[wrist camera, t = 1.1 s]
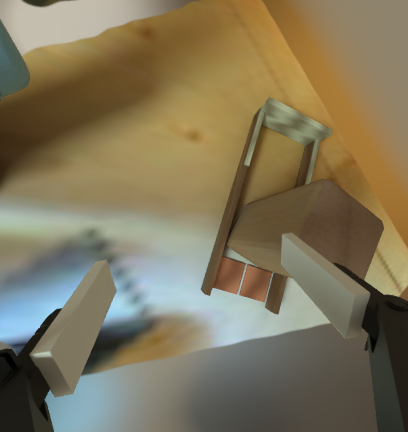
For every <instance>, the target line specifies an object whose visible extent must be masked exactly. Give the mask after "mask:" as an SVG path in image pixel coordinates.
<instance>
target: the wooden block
mask: <svg viewBox="0 0 408 432" xmlns="http://www.w3.org/2000/svg"><path fill="white" fill-rule="evenodd" d="M383 230H384V226H383V223H382V221H381V220H380V219H379V218H378V217H376V216H375V215H374V214H373V213H371V212H370V211H369V210H368V209H366V208H365V207H364V206H363V205H361V204H360V203H359V202H358V201H356V200H355V199H354V198H353V197H351V196H350V195H349V194H348V193H346V192H345V191H344V190H343V189H341V188H340V187H339V186H338V185H336V184H335V183H334V182H333V181H330V180H327V179H321V180H318V181H315V182H312V183H309V184H306V185H303V186H300V187H297V188H294V189H291V190H288V191H285V192H282V193H279V194H276V195H273V196H270V197H267V198H264V199H261V200H258V201H255V202H252V203H249V204H247V205H246V206H245V208H244V210H243V212H242V213H241V215H240V217H239V218H238V220H237V222H236V224H235V225H234V227H233V229H232V231H231V232H230V234H229V236H228V238H227V240H226V245H227V246H228V247H229V248H231V249H232V250H234V251H235V252H237V253H238V254H240V255H241V256H243V257H244V258H246V259H247V260H249V261H250V262H252V263H254V264H255V265H257V266H258V267H260V268H262V269H265V270H268V271H272V272H275V273H278V274H281V275H284V276H287V277H290V278H292V277H291V276H290V274H289V273H288V272H287V271H286V270H285V269H284V267H283V266H282V265H281V248H282V234H285V233H293V234H294V235H296V236H297V237H298V238H299V239H301V240H302V241H303V242H305V243H306V244H307V245H309V246H310V247H311V248H312V249H314V250H315V251H316V252H318V253H319V254H320V255H322V256H323V257H324V258H325V259H327V260H328V261H329V262H331V263H338V264H340V265H342V266H345V267H346V268H348V269H349V270H350V271H352V272H353V274H354V273H355V274H356V275H357V276H359V278H361V279H363V280H364V279H365V276H366V274H367V271H368V268H369V266H370V263H371V261H372V258H373V255H374V253H375V250H376V248H377V245H378V242H379V240H380V237H381V235H382V232H383Z"/></svg>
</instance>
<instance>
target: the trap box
mask: <svg viewBox="0 0 408 432" xmlns="http://www.w3.org/2000/svg"><path fill="white" fill-rule="evenodd" d="M261 124H262V125H264V126H266V127H268V128H270V129H272V130H274V131H276V132H278V133H280V134H282V135H284V136H286V137H288V138H290V139H292V140H294V141H296V142H298V143H300V144H302V145H304V146H305V149H304V153H303V157H302V161H301V165H300V169H299V173H298V177H297V181H296V185H295V188H297V187H300V186H303V185H306V184H309V183H311V178H312V174H313V170H314V166H315V161H316V157H317V153H318V149H319V144H320V141H321V140H323V139H325V138H327V137H329V136H330V135H331V133H332V130H331V129H329V128H328V127H326V126H324V125H322V124H320V123H318V122H316V121H314V120H313V119H311V118H309V117H307V116H305V115H303V114H301V113H299V112H297V111H296V110H294V109H292V108H290V107H288V106H286V105H284V104H282V103H281V102H279V101H277V100H275V99H273V98H271V97H269V98H268V99H267V100H266V102H265V103H264V104H263V105H262V106H261V108H260V109H259V110H258V111H257V113H256V114H255V115H254V118H253V121H252V124H251V127H250V131H249V134H248V137H247V140H246V144H245V147H244V150H243V153H242V157H241V160H240V163H239V166H238V170H237V173H236V176H235V179H234V183H233V186H232V189H231V192H230V196H229V199H228V202H227V205H226V209H225V212H224V215H223V218H222V222H221V225H220V228H219V232H218V235H217V238H216V241H215V245H214V248H213V251H212V254H211V258H210V261H209V264H208V267H207V271H206V274H205V277H204V280H203V284H202V287H201V290H202V292H203V293H204V294H206V295H209V296H210V294H211V290H212V287H213V288H216V289H220V290H223V291H227V292H230V293H234V294H237V292H238V288H239V284H240V281H241V277H242V274H243V270H244V266H245V264H244V263H240V262H237V261H234V260H231V259H228V258H225V257H222V253H223V250H224V247H225V243H226V240H227V237H228V233H229V230H230V227H231V223H232V220H233V216H234V213H235V210H236V206H237V203H238V200H239V196H240V193H241V190H242V186H243V183H244V180H245V176H246V173H247V169H248V166H249V165H250V161H251V158H252V154H253V151H254V148H255V144H256V141H257V138H258V134H259V131H260V128H261ZM271 274H272V273H271V272H268V271H265V270H262V269H259V268H256V267H253V266H250V265H247V269H246V272H245V276H244V280H243V283H242V287H241V291H240V294H239V295H241V296H244V297H248V298H251V299H255V300H258V301H262V302H265V298H266V294H267V290H268V286H269V282H270V278H271ZM286 280H287V276H284V275H281V274H278V273H275V272H274V274H273V278H272V282H271V286H270V290H269V294H268V298H267V302H266V306H265V308H266V309H268V310H270V311H271V312H273V313H274V314H279V310H280V305H281V301H282V297H283V293H284V288H285V284H286Z"/></svg>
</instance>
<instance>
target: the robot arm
mask: <svg viewBox="0 0 408 432" xmlns="http://www.w3.org/2000/svg"><path fill="white" fill-rule="evenodd" d="M29 81H30V73H29V70H28V67H27V65H26V63H25V62H24V60H23V58H22V56H21V54H20V53H19V51H18V49H17V47H16V46H15V44H14V42H13V41H12V39H11V37H10V35H9V33H8V32H7V30H6V28H5V27H4V25H3V23H2V21H1V20H0V101H1V98H2V97H4V96H7V95H9V94H12V93H14V92H17V91H19V90H21V89H23V88H25V87H26V86H27V85H28V84H29ZM281 265H282V266H283V267H284V269H285V270H286V271H287V272H288V273H289V274H290V276H291V277H292V278H293V279H294V280H295V281H296V282H297V284H298V285H299V286H300V287H301V288H302V289H303V291H304V292H305V293H306V294H307V295H308V296H309V298H310V299H311V300H312V301H313V302H314V303H315V304H316V306H317V307H318V308H319V309H320V310H321V311H322V313H323V314H324V315H325V316H326V317H327V318H328V320H329V321H330V322H331V323H332V324H333V325H334V326H335V328H336V329H337V330H338V331H339V332H340V333H341V334H342V336H343V337H344V338H345V339H349V338H354V337H359V336H360V333H361V329H362V328H363V329H364V330H365V331H366V332H367V333H368V338H367V341H366V345H365V350H366V351H367V350H369V359H370V367H371V376H372V385H373V393H374V402H375V411H376V419H377V427H378V432H408V301H406V300H404V299H402V298H400V297H397V296H393V295H384V294H382V293H381V292H379V291H378V290H377V289H375V288H374V287H372V286H371V285H370V284H368V283H367V282H366V281H364V280H363V279H361V278H359V276H357V275H356V274H355V273H354V274H353V272H352V271H350V270H349V269H348V268H346V267H345V266H342V265H340V264H338V263H331V262H329V261H328V260H327V259H325V258H324V257H323V256H322V255H320V254H319V253H318V252H316V251H315V250H314V249H312V248H311V247H310V246H309V245H307V244H306V243H305V242H303V241H302V240H301V239H299V238H298V237H297V236H296V235H294V234H293V233H285V234H282V248H281ZM115 293H116V287H115V284H114V281H113V278H112V275H111V272H110V269H109V265H108V262H107V260H103V261H96V262H95V263H94V265H93V266H92V267H91V269H90V270H89V272H88V273H87V274H86V276H85V277H84V279H83V280H82V281H81V283H80V284H79V286H78V287H77V289H76V290H75V291H74V293H73V294H72V296H71V297H70V298H69V300H68V301H67V303H66V304H65V305H64V307H63V308H61V309H56V310H55V311H54V312H53V313H51V314H50V315H49V316H48V317H47V318H46V319H45V321H44V322H43V323H42V325H41V326H40V328H38V330H37V331H36V332H35V335H33V336H32V338H31V339H30V340H29V342H28V343H27V344H26V345H25V347H24V348H23V349H22V351H21V352H20V353H19V355H18V356H16V354H15V353H14V351H13V350H12V349H3V350H0V432H54V430H53V426H52V422H51V418H50V414H49V410H48V406H47V403H46V402H45V400H44V399H45V398H46V396H47V393H48V392H49V390H51V392H52V394H53V395H54V397H59V396H64V395H69V394H73V392H74V390H75V388H76V385H77V383H78V380H79V378H80V376H81V373H82V371H83V369H84V366H85V364H86V362H87V359H88V357H89V354H90V352H91V350H92V347H93V345H94V343H95V340H96V338H97V336H98V333H99V331H100V329H101V326H102V324H103V321H104V319H105V317H106V314H107V312H108V310H109V307H110V305H111V303H112V300H113V298H114V295H115Z"/></svg>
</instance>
